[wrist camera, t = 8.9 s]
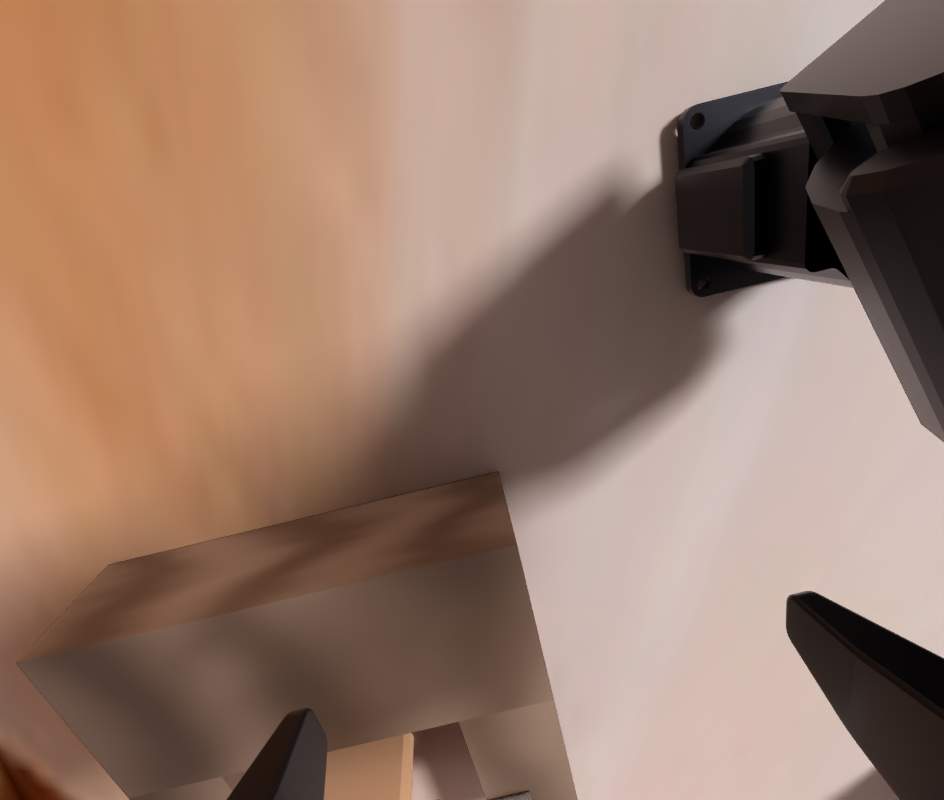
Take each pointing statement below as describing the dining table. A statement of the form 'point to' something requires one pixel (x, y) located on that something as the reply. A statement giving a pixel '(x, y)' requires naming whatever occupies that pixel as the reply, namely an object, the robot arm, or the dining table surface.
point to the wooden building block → (371, 770)
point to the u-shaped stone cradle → (312, 647)
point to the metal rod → (517, 796)
